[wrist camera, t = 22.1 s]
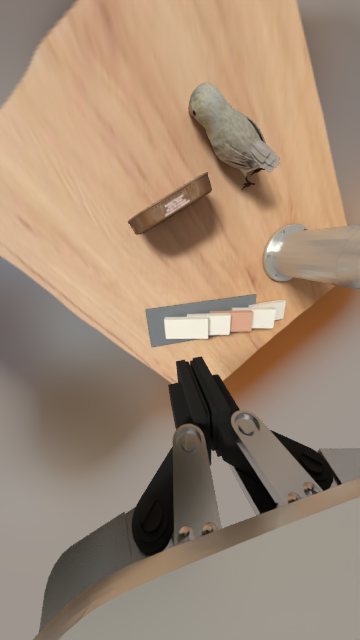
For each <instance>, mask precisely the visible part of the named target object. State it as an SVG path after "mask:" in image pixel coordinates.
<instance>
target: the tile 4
mask: <svg viewBox="0 0 360 640" xmlns="http://www.w3.org/2000/svg"><path fill="white" fill-rule="evenodd" d="M232 310H252V311H253V312H254V313H253V321H252V328H273V326H274V320H275V315H276V310H277V309H275V308H274V307H245V308H232Z"/></svg>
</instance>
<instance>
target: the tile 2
mask: <svg viewBox="0 0 360 640" xmlns="http://www.w3.org/2000/svg"><path fill="white" fill-rule="evenodd" d="M200 316H208V335H230V319H231V315H230V313H207V314H187V317H200Z"/></svg>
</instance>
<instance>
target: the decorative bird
mask: <svg viewBox="0 0 360 640" xmlns="http://www.w3.org/2000/svg"><path fill="white" fill-rule="evenodd" d="M188 110H189V113H190V115H192V116H193V117H194V118H195V119H196V120H197V121H198V122H199V123H200V124H201V125H202V126H203V127H204V128H205V129H206V134H207V136H208V138H209V140H210V142H211V145H212V147H213V149H214V152H215V154H216V156H217V157H218V158H219V159H220V160H221V161H222V162H224V163H225V164H227V165H229V166H231V167H234V168H238V169H240V171H241V172H242V173H243V174H244V176H245V177H246V178H245V179H246V182H247V183H245V184H243V185H245V186H244V187H243V188H245V187H249V186H250V185H255V184H254V183H251V182H249V181H248V179H247V172H250V171H254V172H253V173H252V174H254V173H257V172H259V171H260V170H266V171H267V172H271V171H272V170H273V169H274V168H276V167H277V166H278V165H279V159H280V158H279V157H278V156H277V155H276V154H275V152H274V151H273V150H272V149H271V148H270V147H269V146H268V145H266V142H265V140H264V137H263V135H262V133H261V131H260V129H259V128H258V126H257V125H256V124H255V123H254V122H253V121H252V120H251V119H250V118H249V117H247V116H245V115H244V114H243V113H241V112H239V111H238V110H236V109H234V108H232V106H231V105H230V104H229V103H228V102H227V101H226V99H225V98H224V97H223V95H222V94H221V93H220V91H219V90H218V89H217V88H216V87H215V86H214V85H212V84H210V83H203V84H201V85H199V86H198V87H197V88H196V89H195V90H194V91H193V93H192V95H191V98H190V101H189V107H188ZM260 167H262V168H260ZM252 174H251V175H252ZM250 177H251V176H250ZM243 188H242V189H243ZM241 191H242V190H241Z"/></svg>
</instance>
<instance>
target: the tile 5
mask: <svg viewBox="0 0 360 640" xmlns="http://www.w3.org/2000/svg"><path fill="white" fill-rule="evenodd" d="M285 304H286V301H284V300H275V301H270V302H264V303H258V304H253V305H249V306H248V307H274V308H275V309H277V310H276V315H275V320H278V319H283V315H284V310H285Z"/></svg>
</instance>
